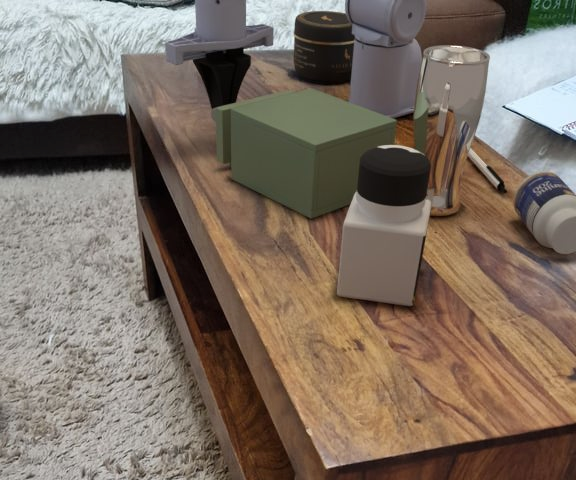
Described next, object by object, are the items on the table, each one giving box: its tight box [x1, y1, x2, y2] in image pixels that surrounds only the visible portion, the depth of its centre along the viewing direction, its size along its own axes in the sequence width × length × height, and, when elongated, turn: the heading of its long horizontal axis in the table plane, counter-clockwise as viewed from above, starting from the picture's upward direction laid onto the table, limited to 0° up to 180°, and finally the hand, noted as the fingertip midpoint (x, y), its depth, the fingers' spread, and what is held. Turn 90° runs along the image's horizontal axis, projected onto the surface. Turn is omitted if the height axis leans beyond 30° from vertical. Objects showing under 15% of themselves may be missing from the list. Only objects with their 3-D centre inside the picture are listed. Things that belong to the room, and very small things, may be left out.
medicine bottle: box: [336, 144, 431, 307], centre depth 69 cm, size 7×7×12 cm
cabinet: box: [230, 87, 398, 220], centre depth 86 cm, size 13×12×8 cm
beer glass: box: [412, 44, 491, 217], centre depth 81 cm, size 7×7×15 cm
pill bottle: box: [513, 170, 576, 255], centre depth 79 cm, size 5×5×10 cm
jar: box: [293, 10, 355, 85], centre depth 116 cm, size 10×10×8 cm
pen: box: [467, 147, 508, 194], centre depth 95 cm, size 1×19×1 cm, turn 11°
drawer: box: [210, 89, 295, 165], centre depth 89 cm, size 17×11×6 cm
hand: (222, 119), depth 95 cm, fingers closed, pressing on drawer
